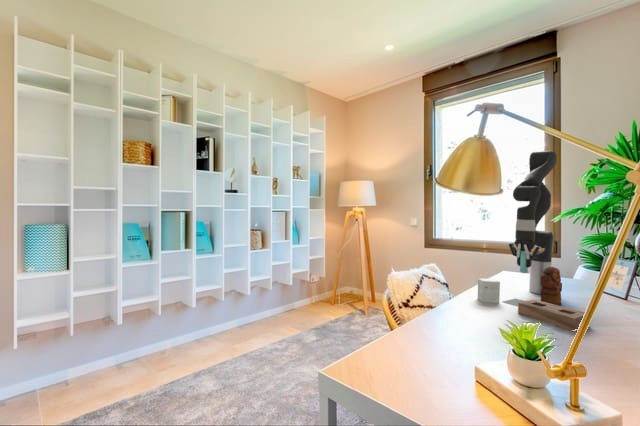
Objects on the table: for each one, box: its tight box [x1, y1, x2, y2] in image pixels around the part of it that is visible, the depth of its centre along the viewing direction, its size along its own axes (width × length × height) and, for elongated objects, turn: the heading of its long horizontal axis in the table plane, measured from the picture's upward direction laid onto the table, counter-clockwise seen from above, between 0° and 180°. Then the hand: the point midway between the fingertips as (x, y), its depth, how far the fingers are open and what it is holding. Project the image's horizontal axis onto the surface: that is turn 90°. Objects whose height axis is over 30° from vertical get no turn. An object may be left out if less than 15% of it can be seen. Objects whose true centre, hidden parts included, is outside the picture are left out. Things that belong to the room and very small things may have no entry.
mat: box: [502, 298, 525, 308], centre depth 147 cm, size 12×12×1 cm
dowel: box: [519, 251, 529, 274], centre depth 145 cm, size 3×3×10 cm
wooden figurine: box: [540, 266, 563, 306], centre depth 146 cm, size 12×6×18 cm, turn 125°
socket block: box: [517, 298, 585, 332], centre depth 127 cm, size 12×20×5 cm, turn 30°
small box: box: [477, 278, 501, 304], centre depth 150 cm, size 8×6×10 cm
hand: (523, 266), depth 145 cm, fingers closed on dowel, 3 cm apart
